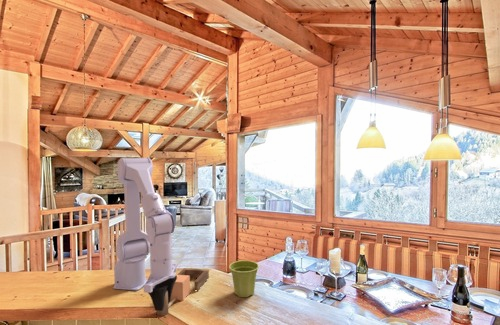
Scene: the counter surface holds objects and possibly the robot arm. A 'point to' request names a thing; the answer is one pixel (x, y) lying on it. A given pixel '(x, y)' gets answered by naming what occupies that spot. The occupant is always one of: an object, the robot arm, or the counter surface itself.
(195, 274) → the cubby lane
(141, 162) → the robot arm
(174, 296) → the tethered block
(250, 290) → the plant pot
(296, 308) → the counter surface
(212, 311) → the counter surface
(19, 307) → the counter surface
